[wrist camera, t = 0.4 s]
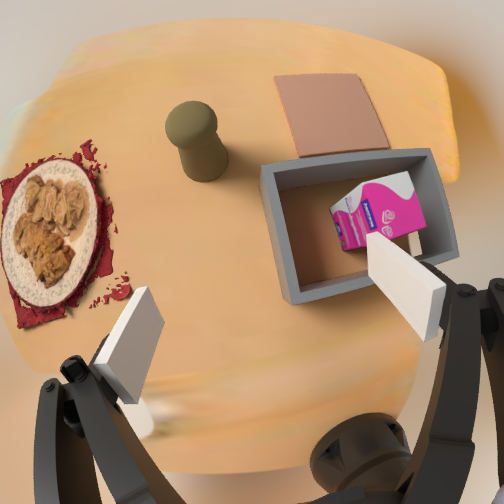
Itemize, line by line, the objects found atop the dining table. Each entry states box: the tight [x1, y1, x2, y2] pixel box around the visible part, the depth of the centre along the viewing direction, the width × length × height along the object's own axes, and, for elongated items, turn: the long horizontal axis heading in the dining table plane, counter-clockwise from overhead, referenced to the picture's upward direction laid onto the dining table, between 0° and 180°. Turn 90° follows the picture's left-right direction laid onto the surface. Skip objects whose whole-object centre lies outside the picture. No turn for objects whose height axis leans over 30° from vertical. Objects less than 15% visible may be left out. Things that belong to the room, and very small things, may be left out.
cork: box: [165, 101, 228, 182], centre depth 28 cm, size 6×6×11 cm
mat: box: [274, 74, 389, 157], centre depth 34 cm, size 14×14×1 cm
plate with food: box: [0, 140, 130, 329], centre depth 31 cm, size 25×26×4 cm
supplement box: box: [329, 171, 426, 251], centre depth 27 cm, size 6×6×12 cm
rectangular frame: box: [259, 148, 459, 305], centre depth 29 cm, size 14×22×7 cm, turn 102°
